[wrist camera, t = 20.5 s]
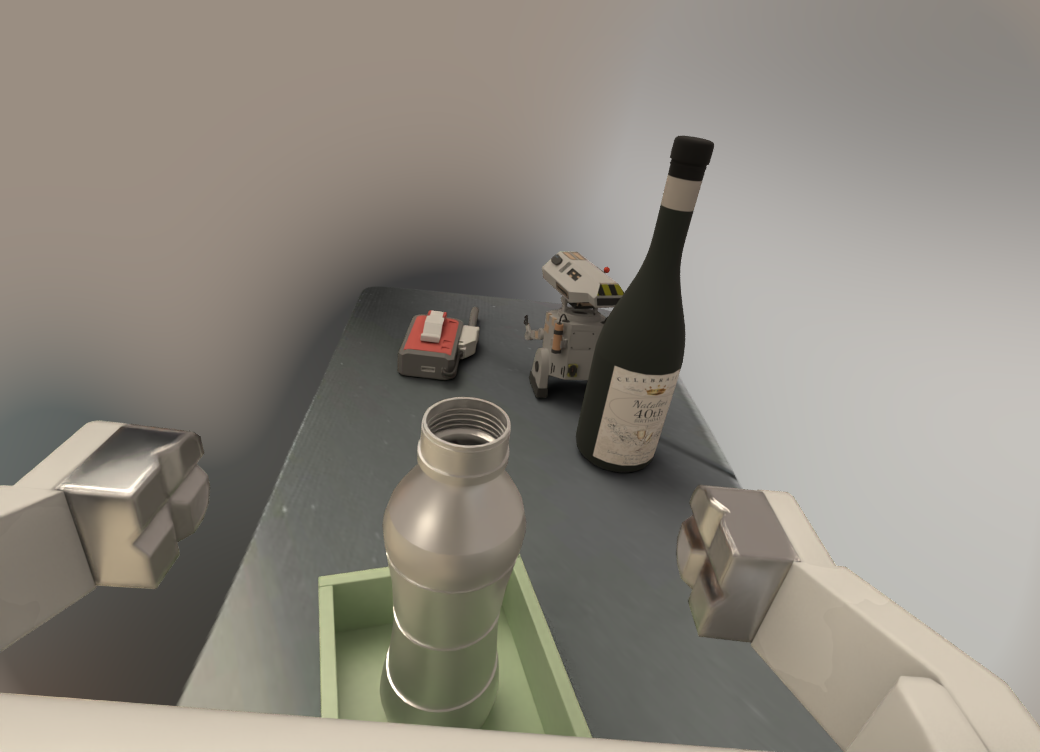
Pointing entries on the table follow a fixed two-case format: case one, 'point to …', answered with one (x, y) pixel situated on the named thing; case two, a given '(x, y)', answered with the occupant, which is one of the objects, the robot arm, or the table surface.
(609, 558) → the table surface
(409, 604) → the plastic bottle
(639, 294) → the wine bottle
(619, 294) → the figurine
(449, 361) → the walkie-talkie
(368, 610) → the bin
